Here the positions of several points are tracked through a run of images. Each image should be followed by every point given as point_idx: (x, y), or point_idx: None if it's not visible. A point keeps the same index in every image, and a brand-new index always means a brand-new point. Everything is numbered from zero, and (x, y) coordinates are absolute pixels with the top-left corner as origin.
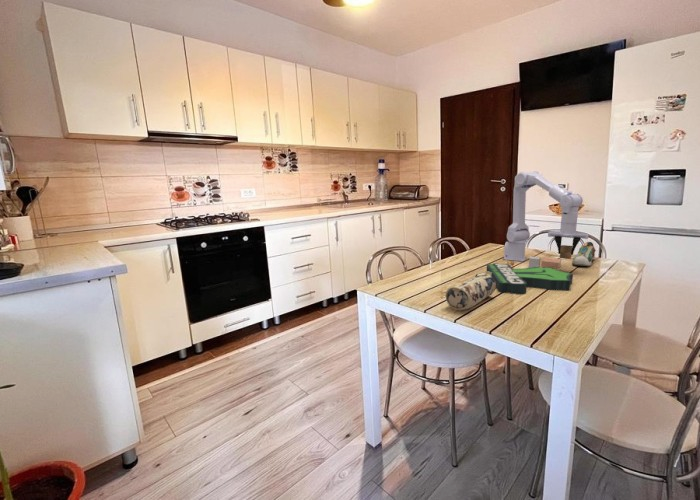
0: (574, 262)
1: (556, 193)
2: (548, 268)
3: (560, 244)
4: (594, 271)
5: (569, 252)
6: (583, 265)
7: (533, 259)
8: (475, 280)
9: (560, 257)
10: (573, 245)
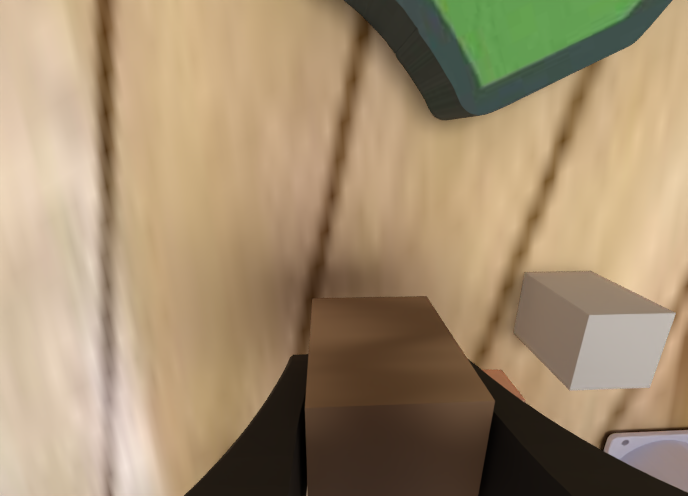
0: None
1: None
2: (506, 43)
3: (525, 455)
4: (172, 393)
5: (332, 346)
6: None
7: (631, 309)
8: None
9: (420, 300)
10: (271, 459)
